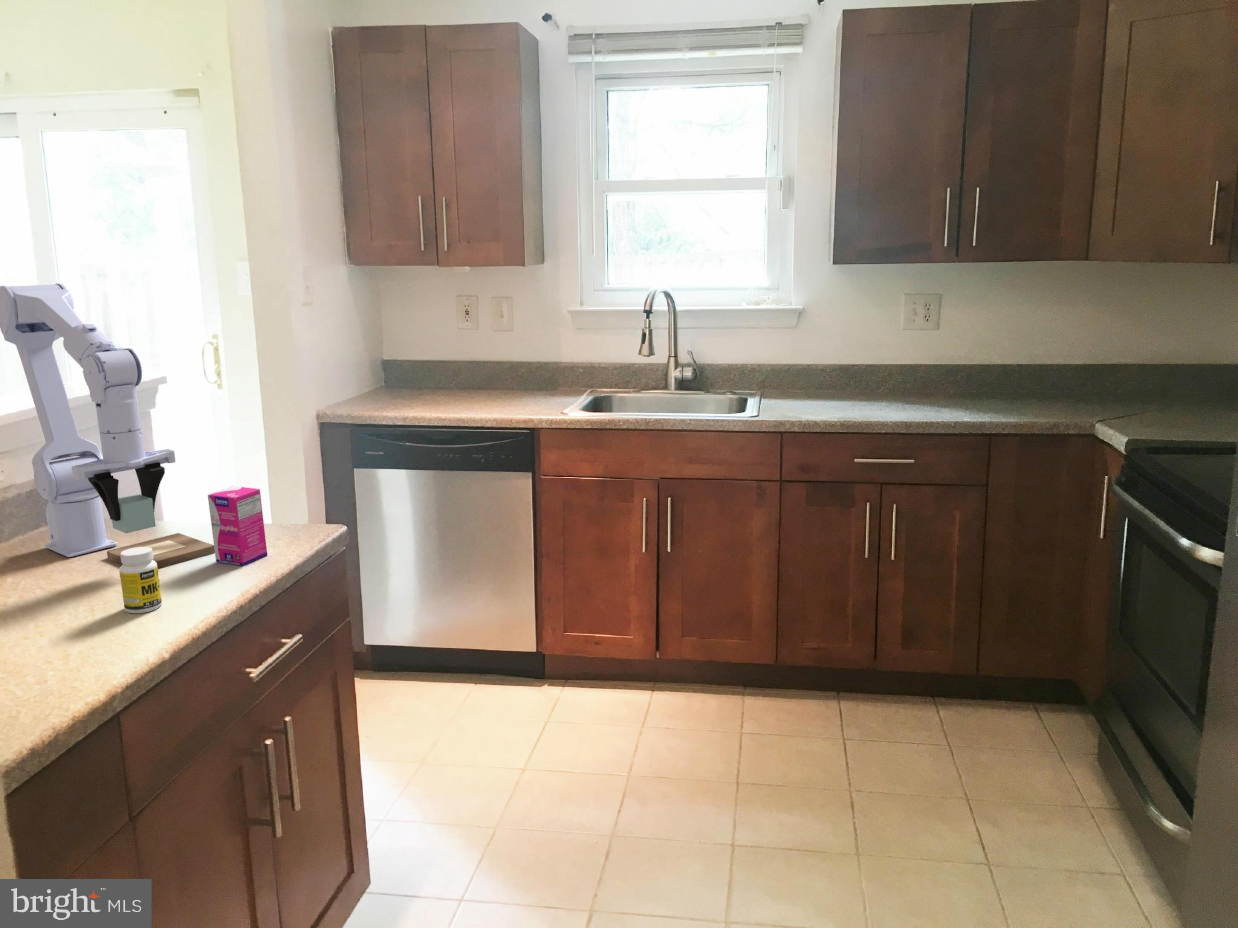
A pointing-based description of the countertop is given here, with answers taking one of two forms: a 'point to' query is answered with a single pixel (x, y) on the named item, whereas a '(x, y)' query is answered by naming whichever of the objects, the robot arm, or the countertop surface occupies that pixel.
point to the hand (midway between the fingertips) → (132, 515)
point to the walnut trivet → (169, 549)
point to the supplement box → (237, 525)
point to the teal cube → (135, 514)
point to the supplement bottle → (139, 580)
